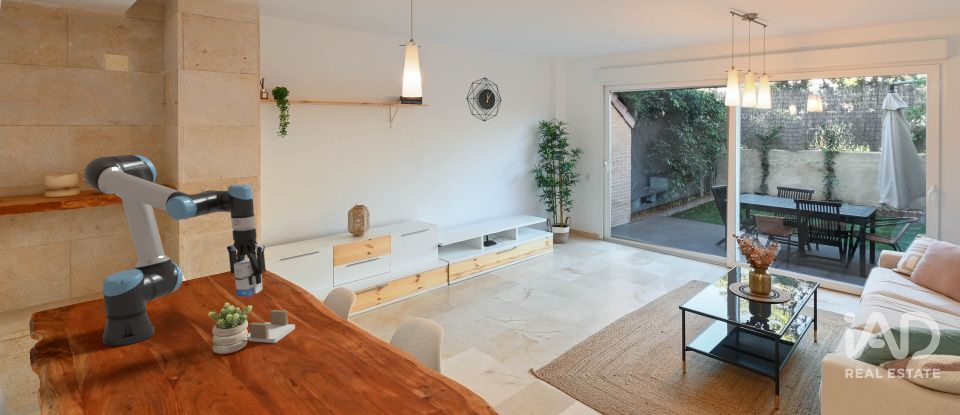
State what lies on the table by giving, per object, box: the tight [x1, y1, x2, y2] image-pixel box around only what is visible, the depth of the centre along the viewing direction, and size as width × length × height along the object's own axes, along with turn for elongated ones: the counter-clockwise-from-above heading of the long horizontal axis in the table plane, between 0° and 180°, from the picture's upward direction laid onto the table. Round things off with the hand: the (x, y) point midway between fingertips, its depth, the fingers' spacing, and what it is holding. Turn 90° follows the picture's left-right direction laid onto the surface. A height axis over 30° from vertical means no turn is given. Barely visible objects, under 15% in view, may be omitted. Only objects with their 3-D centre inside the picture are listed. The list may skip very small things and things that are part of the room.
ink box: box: [234, 257, 264, 298], centre depth 178 cm, size 8×5×12 cm, turn 168°
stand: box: [247, 309, 296, 344], centre depth 180 cm, size 12×14×6 cm
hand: (250, 292), depth 178 cm, fingers closed on ink box, 5 cm apart
